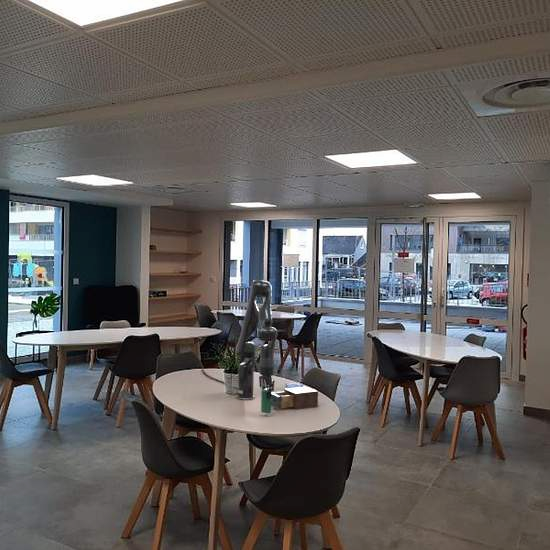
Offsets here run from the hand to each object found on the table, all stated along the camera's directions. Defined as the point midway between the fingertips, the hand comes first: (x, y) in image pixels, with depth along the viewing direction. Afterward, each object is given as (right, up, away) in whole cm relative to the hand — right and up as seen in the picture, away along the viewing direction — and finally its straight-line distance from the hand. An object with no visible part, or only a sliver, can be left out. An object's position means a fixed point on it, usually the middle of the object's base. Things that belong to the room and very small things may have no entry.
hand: (266, 397), depth 281 cm
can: (0, -8, 0) cm, 8 cm away
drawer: (+8, -9, +18) cm, 21 cm away
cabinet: (+19, -10, +23) cm, 32 cm away
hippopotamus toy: (+16, -10, +42) cm, 46 cm away
